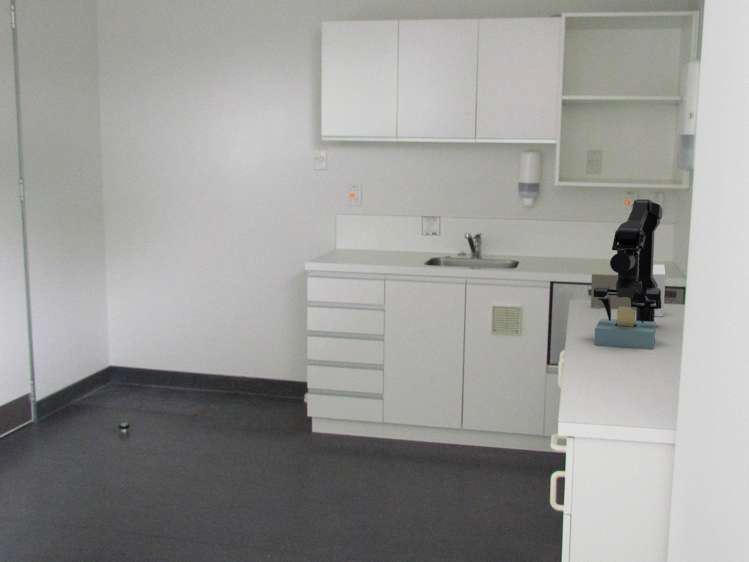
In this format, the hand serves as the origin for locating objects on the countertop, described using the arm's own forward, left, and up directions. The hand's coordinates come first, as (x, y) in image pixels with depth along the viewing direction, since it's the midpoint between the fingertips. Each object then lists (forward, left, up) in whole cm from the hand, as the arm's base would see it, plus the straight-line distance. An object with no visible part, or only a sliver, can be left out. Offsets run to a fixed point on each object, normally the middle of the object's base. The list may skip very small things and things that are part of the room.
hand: (626, 321), depth 232 cm
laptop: (-62, -8, -6) cm, 63 cm away
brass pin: (0, 0, -5) cm, 5 cm away
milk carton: (-49, +5, -6) cm, 50 cm away
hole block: (0, 0, -6) cm, 6 cm away
